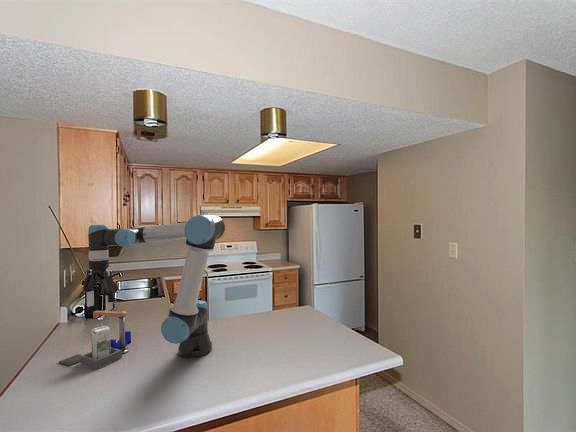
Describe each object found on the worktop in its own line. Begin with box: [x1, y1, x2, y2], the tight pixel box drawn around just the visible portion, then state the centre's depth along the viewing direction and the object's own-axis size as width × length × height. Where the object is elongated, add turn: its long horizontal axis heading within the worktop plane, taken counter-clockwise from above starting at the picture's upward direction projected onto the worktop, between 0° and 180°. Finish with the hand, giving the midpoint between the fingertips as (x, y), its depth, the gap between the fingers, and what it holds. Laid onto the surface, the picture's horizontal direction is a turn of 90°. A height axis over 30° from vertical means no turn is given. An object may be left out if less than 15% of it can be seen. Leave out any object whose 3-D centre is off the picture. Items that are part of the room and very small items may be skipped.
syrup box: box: [90, 325, 111, 359], centre depth 137 cm, size 6×6×14 cm
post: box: [118, 316, 130, 355], centre depth 146 cm, size 5×5×17 cm
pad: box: [58, 354, 83, 367], centre depth 138 cm, size 8×8×1 cm
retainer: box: [92, 310, 127, 319], centre depth 147 cm, size 17×4×3 cm, turn 77°
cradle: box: [79, 347, 123, 370], centre depth 137 cm, size 12×12×4 cm
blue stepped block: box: [110, 330, 132, 349], centre depth 151 cm, size 12×4×6 cm, turn 170°
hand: (99, 307), depth 137 cm, fingers open, 13 cm apart
